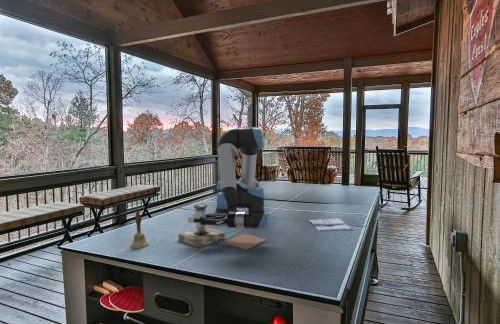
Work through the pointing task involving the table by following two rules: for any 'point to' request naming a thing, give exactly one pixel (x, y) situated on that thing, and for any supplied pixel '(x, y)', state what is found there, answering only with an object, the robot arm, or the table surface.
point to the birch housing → (201, 237)
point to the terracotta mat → (245, 241)
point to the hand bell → (139, 235)
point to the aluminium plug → (201, 211)
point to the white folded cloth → (335, 224)
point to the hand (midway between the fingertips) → (190, 218)
